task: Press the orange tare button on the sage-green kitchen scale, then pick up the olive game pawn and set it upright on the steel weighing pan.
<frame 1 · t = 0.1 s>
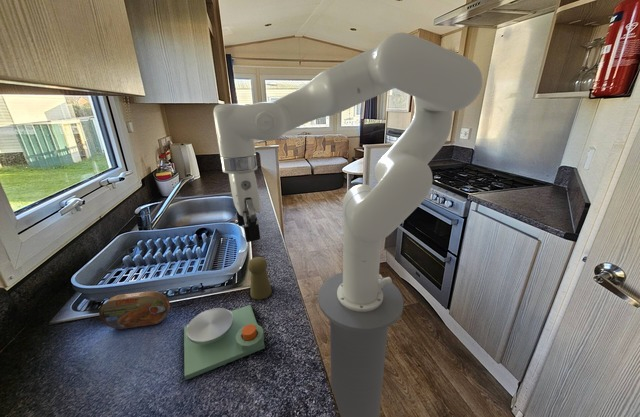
hand: (248, 232, 65), 21 cm above the worktop, tool pointing down, fingers open, 9 cm apart
olive game pawn: (261, 292, 76), on the worktop
tare button: (249, 332, 58), point 3 cm above the worktop, slide at 0.1 cm
scale: (223, 338, 61), on the worktop
tin: (141, 322, 66), on the worktop
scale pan: (213, 335, 62), resting on scale
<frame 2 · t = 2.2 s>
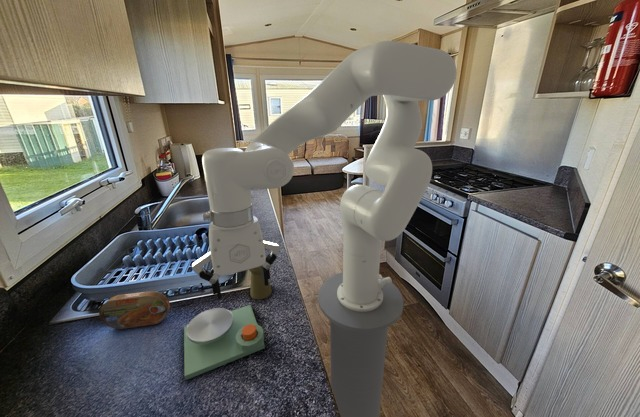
hand: (242, 288, 56), 14 cm above the worktop, tool pointing down, fingers open, 9 cm apart
nothing on the worktop moved.
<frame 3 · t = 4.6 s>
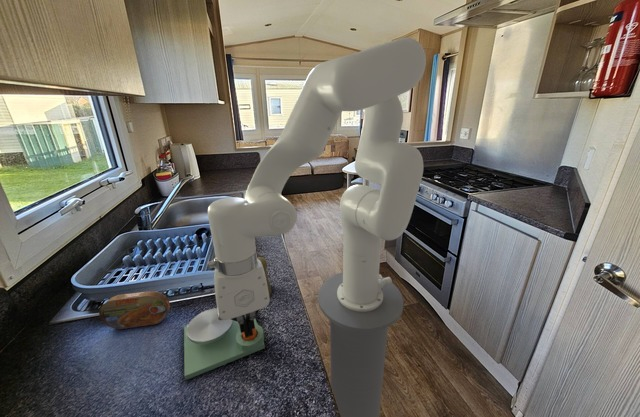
hand: (247, 331, 58), 4 cm above the worktop, tool pointing down, fingers closed
tare button: (249, 334, 58), point 3 cm above the worktop, slide at -0.4 cm, touching gripper
everything else where it was.
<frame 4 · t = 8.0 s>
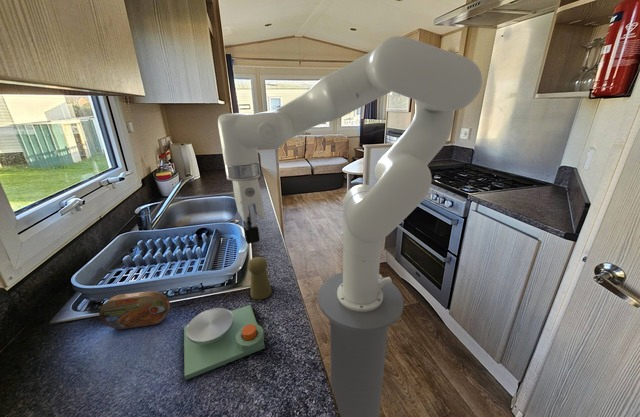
hand: (252, 241, 67), 18 cm above the worktop, tool pointing down, fingers closed
tare button: (249, 332, 58), point 3 cm above the worktop, slide at 0.1 cm
everything else where it was.
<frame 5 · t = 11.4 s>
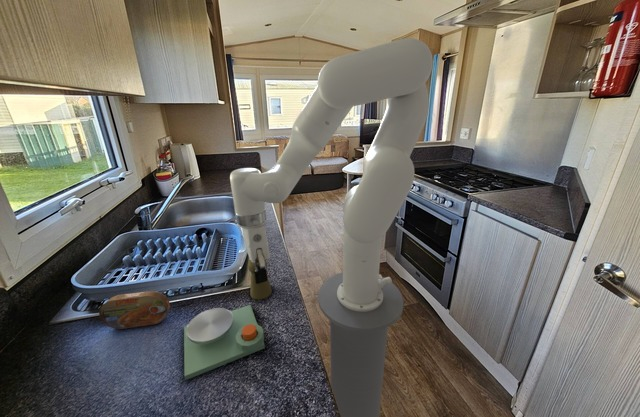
hand: (258, 275, 73), 6 cm above the worktop, tool pointing down, fingers closed on olive game pawn, 5 cm apart
olive game pawn: (261, 292, 76), on the worktop, touching gripper
everything else where it was.
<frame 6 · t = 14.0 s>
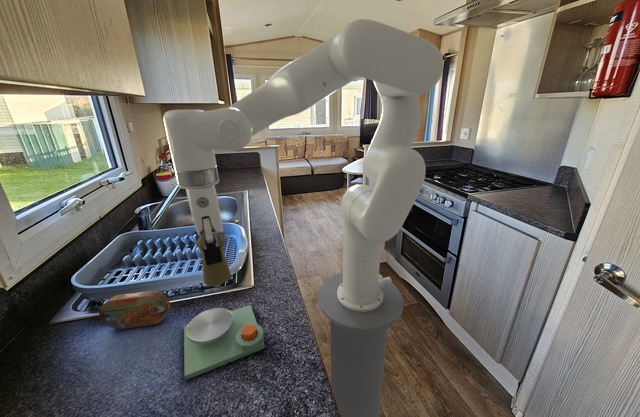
hand: (213, 255, 58), 20 cm above the worktop, tool pointing down, fingers closed on olive game pawn, 5 cm apart
olive game pawn: (217, 278, 60), point 14 cm above the worktop, touching gripper
everything else where it was.
when the fingers open (10 cm above the worktop, at t = 17.1 s): olive game pawn stays where it is, resting on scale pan.
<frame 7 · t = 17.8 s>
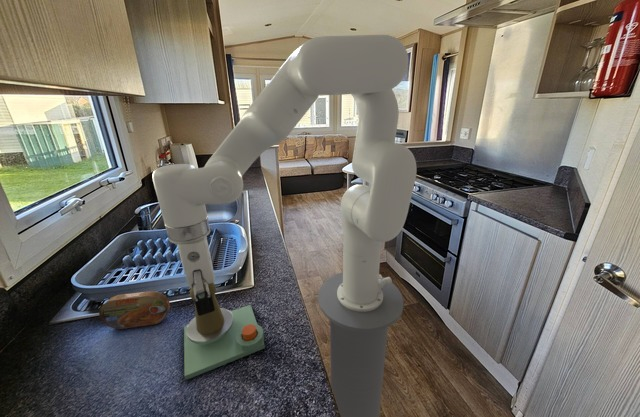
hand: (205, 298, 58), 11 cm above the worktop, tool pointing down, fingers open, 9 cm apart
olive game pawn: (210, 324, 60), point 4 cm above the worktop, touching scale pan
everything else where it was.
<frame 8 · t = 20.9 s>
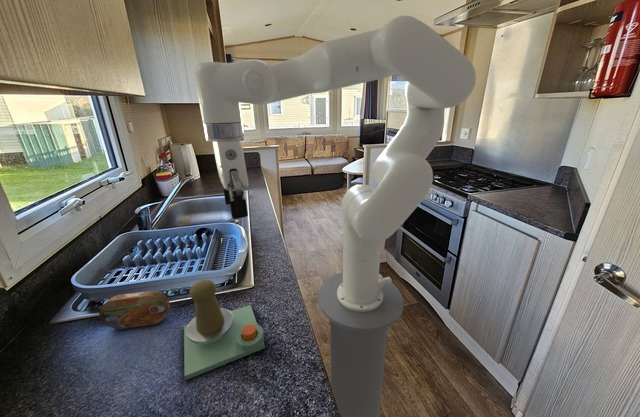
hand: (236, 210, 59), 28 cm above the worktop, tool pointing down, fingers open, 9 cm apart
nothing on the worktop moved.
at the end: tare button pushed in 1.1 cm at the most during the clip, back to where it started at the end; olive game pawn 0.0 cm from the target spot on the scale, point 3.6 cm above the scale's base; olive game pawn tilted 0° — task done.
